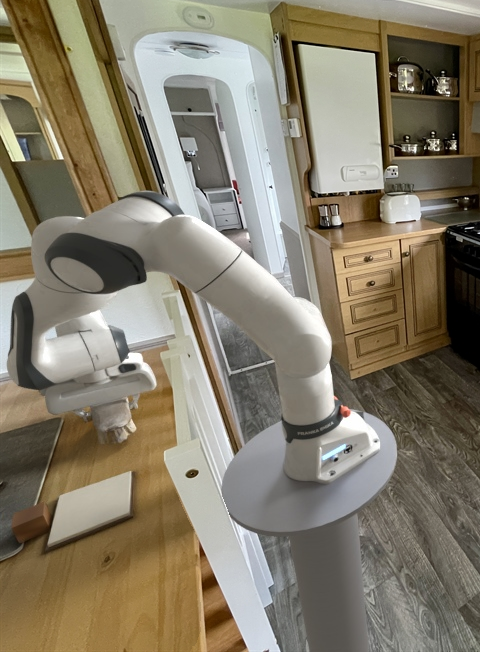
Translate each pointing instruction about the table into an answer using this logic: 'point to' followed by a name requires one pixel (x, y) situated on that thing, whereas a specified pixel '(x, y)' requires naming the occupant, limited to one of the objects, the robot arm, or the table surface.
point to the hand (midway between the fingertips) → (112, 414)
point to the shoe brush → (112, 421)
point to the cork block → (31, 522)
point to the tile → (91, 509)
